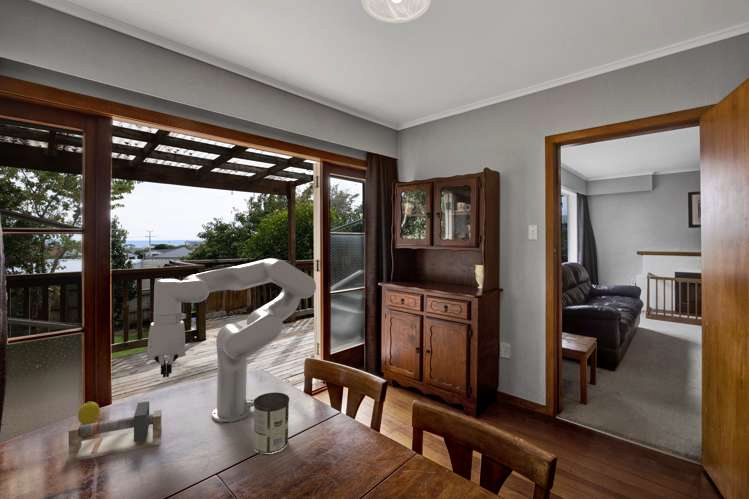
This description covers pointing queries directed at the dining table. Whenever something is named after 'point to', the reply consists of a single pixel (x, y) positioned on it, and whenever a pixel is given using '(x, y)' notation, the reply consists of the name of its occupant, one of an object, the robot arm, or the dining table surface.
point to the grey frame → (141, 421)
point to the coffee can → (271, 422)
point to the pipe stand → (110, 437)
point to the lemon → (88, 413)
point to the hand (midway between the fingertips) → (166, 375)
